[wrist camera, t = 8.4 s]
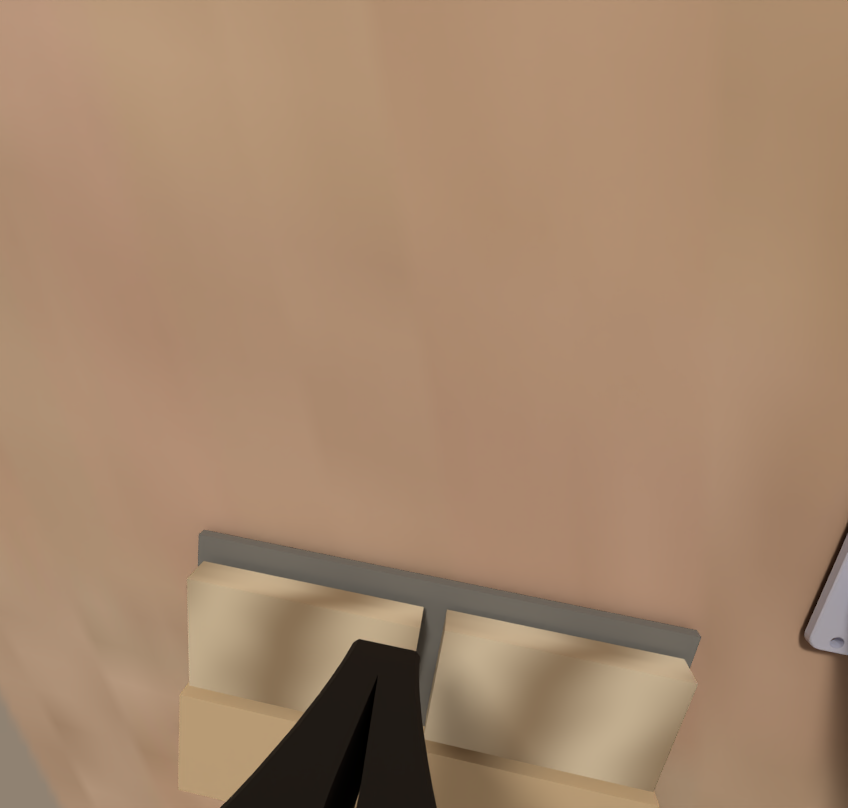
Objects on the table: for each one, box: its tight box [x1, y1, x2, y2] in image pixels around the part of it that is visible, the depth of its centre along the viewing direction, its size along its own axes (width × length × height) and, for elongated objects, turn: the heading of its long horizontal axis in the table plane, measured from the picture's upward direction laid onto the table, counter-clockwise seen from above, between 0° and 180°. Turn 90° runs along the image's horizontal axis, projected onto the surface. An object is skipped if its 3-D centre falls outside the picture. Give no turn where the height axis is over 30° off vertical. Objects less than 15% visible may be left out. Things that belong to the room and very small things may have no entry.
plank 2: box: [424, 610, 698, 792], centre depth 19 cm, size 10×6×1 cm, turn 81°
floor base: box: [178, 530, 701, 808], centre depth 21 cm, size 22×14×2 cm, turn 81°
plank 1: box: [187, 561, 424, 712], centre depth 20 cm, size 10×6×1 cm, turn 81°
